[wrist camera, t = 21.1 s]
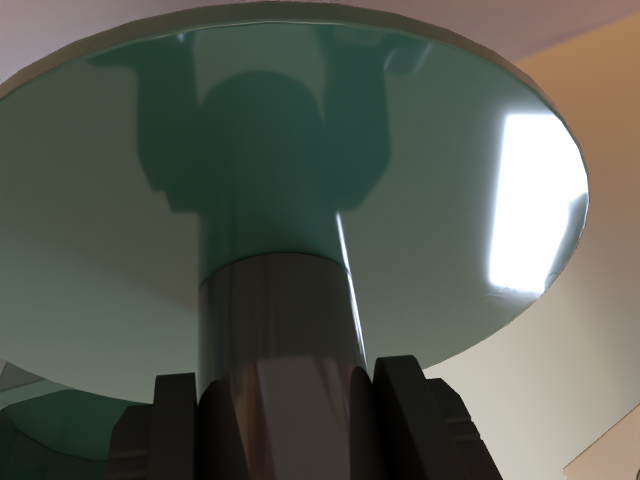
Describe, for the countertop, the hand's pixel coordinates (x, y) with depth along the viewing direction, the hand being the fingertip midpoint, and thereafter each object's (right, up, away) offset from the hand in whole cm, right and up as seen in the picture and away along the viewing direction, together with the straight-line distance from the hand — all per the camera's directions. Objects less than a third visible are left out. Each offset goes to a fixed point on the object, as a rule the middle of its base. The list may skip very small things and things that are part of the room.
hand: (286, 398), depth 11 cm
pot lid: (0, +2, +2) cm, 3 cm away
